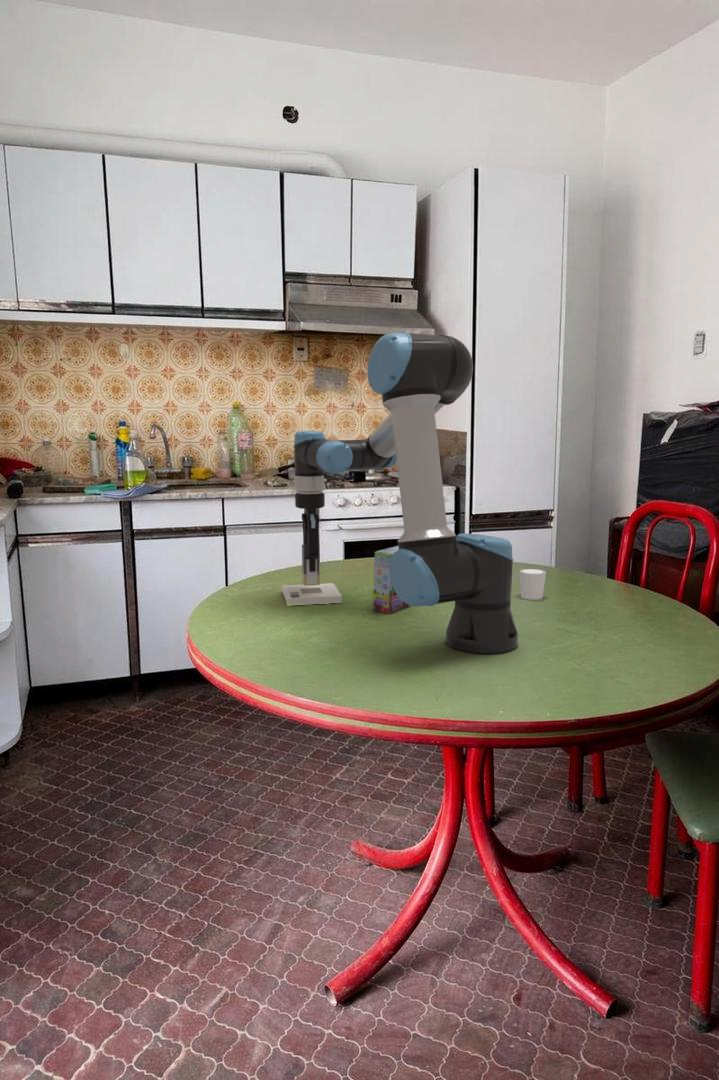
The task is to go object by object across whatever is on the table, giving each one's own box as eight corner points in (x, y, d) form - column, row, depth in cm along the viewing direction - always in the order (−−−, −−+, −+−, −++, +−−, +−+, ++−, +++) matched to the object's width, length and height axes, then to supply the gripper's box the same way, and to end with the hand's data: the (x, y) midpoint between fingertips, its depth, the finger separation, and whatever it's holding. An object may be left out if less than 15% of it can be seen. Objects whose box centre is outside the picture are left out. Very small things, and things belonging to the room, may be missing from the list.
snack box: (391, 615, 183) (391, 553, 180) (372, 611, 186) (372, 551, 183) (437, 597, 199) (438, 540, 197) (419, 593, 203) (420, 538, 200)
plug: (319, 585, 196) (319, 547, 194) (304, 585, 195) (303, 547, 193) (317, 581, 200) (317, 544, 198) (302, 582, 199) (301, 544, 197)
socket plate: (341, 603, 193) (341, 593, 192) (286, 606, 190) (286, 596, 190) (333, 590, 206) (333, 580, 206) (282, 592, 204) (281, 583, 203)
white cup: (547, 600, 195) (548, 574, 194) (521, 600, 196) (522, 574, 194) (541, 593, 202) (543, 568, 201) (516, 593, 202) (517, 568, 201)
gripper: (329, 495, 186) (330, 588, 190) (319, 487, 202) (320, 573, 206) (298, 496, 184) (300, 589, 188) (291, 488, 201) (293, 574, 205)
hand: (310, 581), depth 197 cm, fingers closed on plug, 4 cm apart
